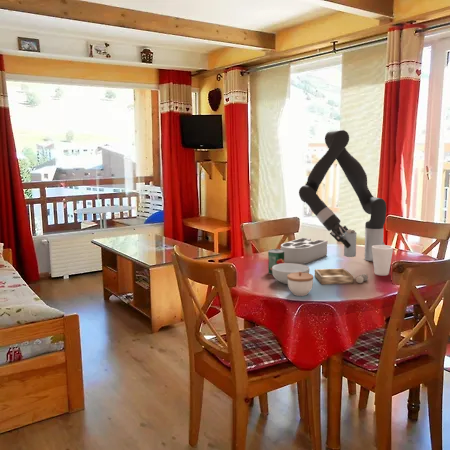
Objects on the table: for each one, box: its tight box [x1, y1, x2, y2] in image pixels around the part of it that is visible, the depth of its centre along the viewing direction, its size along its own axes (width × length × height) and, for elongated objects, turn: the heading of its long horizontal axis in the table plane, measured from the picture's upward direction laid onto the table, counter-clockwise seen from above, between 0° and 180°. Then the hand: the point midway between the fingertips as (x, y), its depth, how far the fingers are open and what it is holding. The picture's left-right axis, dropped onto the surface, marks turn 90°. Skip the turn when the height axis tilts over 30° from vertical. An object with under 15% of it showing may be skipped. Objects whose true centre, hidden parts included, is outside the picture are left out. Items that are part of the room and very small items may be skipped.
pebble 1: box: [355, 275, 364, 284], centre depth 209 cm, size 3×3×3 cm
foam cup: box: [372, 244, 394, 276], centre depth 223 cm, size 10×9×13 cm
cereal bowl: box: [271, 262, 310, 285], centre depth 213 cm, size 17×17×7 cm
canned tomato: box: [267, 248, 285, 276], centre depth 229 cm, size 8×8×11 cm
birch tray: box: [314, 267, 354, 285], centre depth 216 cm, size 14×14×3 cm
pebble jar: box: [343, 228, 357, 258], centre depth 221 cm, size 5×5×13 cm
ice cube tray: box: [280, 237, 328, 265], centre depth 258 cm, size 17×28×9 cm, turn 140°
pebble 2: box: [360, 273, 369, 282], centre depth 212 cm, size 3×3×3 cm
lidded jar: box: [287, 272, 314, 297], centre depth 196 cm, size 11×11×9 cm
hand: (351, 245), depth 221 cm, fingers closed on pebble jar, 5 cm apart
